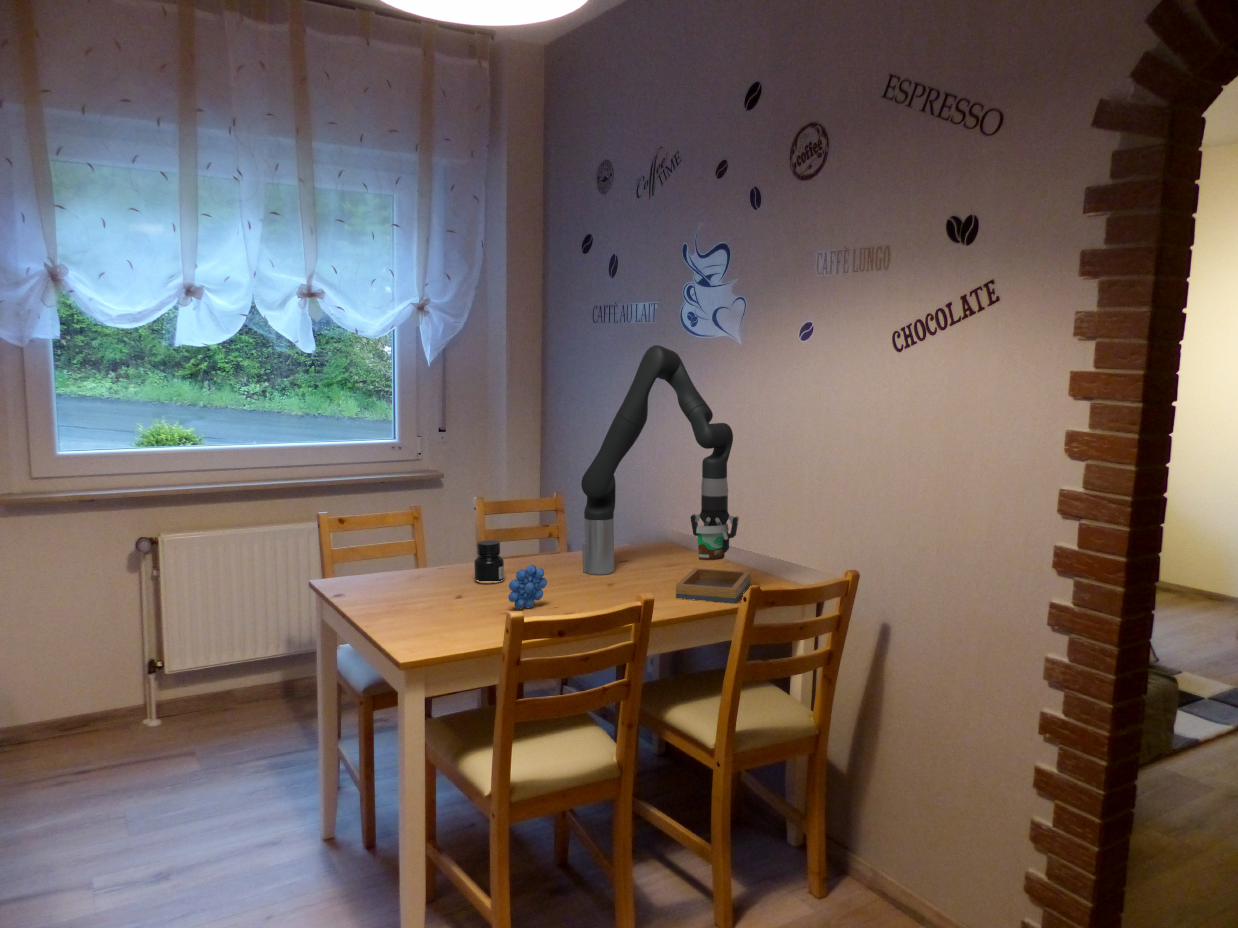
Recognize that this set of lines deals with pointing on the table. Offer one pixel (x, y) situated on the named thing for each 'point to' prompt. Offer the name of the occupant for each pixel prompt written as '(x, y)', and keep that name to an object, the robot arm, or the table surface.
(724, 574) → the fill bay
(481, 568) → the ink bottle
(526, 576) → the grapes
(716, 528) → the food container
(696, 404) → the robot arm
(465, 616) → the table surface
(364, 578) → the table surface
